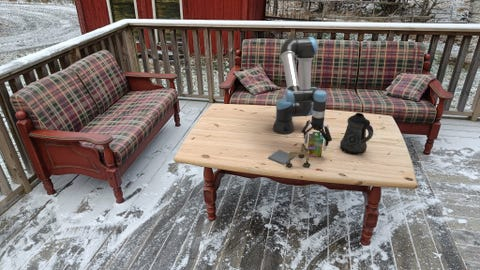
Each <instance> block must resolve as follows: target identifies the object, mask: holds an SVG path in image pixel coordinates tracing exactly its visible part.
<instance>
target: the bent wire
mask: <svg viewBox="0 0 480 270" xmlns="http://www.w3.org/2000/svg"><path fill="white" fill-rule="evenodd" d="M300 148H301V149H300V151H289V152H288V153H289V160H288V162H287V163H286V164H285V167H286V168H287V167H288V168H287V169H291V167H292V168H293V163H291V155H295V156H296V155H298V156H297V157H298V158H300V159H305V162H303V165H302V166H303V167H304V168H306V167H308V168H311V164H310V163H309V157H310V156H309V151H308V150H307V148H308V147H306V144H304V142H303V143H301V146H300ZM305 157H306V158H305Z"/></svg>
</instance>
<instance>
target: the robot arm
mask: <svg viewBox="0 0 480 270" xmlns="http://www.w3.org/2000/svg"><path fill="white" fill-rule="evenodd" d="M279 54H280V59H281V61H282V63H283V64H282V65H283V71H284V77H285V82H286V83H285V84H286V90H285V91H284V97H282V98H279V99H278V100H277V101H276V105H275V108H276V109H275V121H274V123H273V126H272V130H273V132H274V133H276V134H278V135H289V134H292V133H293V132H294V130H295V126H294V122H293V118H294V117H295V118H296V117H306V118H307V117H310V116H311V120H310V119H309V120H307V121H306V123H305V125H304V126H303V128H302V129H301V132H300V133H301V134H303V139H304V140H303V141H304V142H303V143H304V145H306V144H308V140H309V132H310V131H312V130H314V131H316V132H320V135H322V136H323V147H322V152H323V151H324V152H325V151H326V150H327V147H328V146H329V143H331V141H333V139H332V135H331V133H330V130H329V125H328V124H327V125H325V124H324V122H325V115H326V105H327V99H328V98H327V97H328V96H327V95H328V93H327V92H326V91H325V90H320V89H319V88H317V87H316V86H312V83H311V82H312V63H313V60H314V59H315V56H317V54H318V44H317V41H316V38H314V37H310V36H305V37H303V36H301V37H290V38H288V39H286V40H285V42H283V43H282V45H281V48H280V52H279ZM295 57H296V59H297V60H298V70H297V65H296V60H295ZM297 71H298V72H297ZM310 125H311V127H309V126H310ZM308 127H309V128H308ZM307 128H308V129H307Z"/></svg>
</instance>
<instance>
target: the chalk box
mask: <svg viewBox="0 0 480 270" xmlns="http://www.w3.org/2000/svg"><path fill="white" fill-rule="evenodd" d="M306 148H307V150H308V151H309V157H317V158H322V152H323V148H324V138H323V136H322V134H321V133H320V132H319V131H312V133H308V141H307V147H306Z"/></svg>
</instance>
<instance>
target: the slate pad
mask: <svg viewBox="0 0 480 270" xmlns="http://www.w3.org/2000/svg"><path fill="white" fill-rule="evenodd" d="M289 153H290V152H287V151H284V150H281V149H278V150H277V151H275V152H273V153H272V154H270V155H269V156H268V157H267V159H268V160H271V161H273V162H276V163H278V164H280V165H282V166H283V165H285V166H286V164H287V163H288V160H289ZM295 157H296V155H291V160H293V159H294V158H295Z"/></svg>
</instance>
